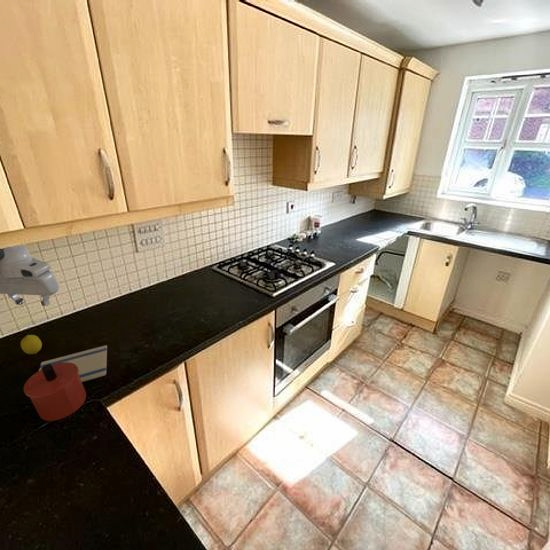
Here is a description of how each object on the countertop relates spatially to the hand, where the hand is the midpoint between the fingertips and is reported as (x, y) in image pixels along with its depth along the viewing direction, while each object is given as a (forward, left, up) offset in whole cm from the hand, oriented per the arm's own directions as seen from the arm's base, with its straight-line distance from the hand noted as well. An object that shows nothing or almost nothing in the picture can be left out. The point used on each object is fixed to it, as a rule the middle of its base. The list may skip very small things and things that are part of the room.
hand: (33, 304), depth 101 cm
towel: (+8, -16, -19) cm, 26 cm away
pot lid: (+7, -31, -9) cm, 33 cm away
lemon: (-5, -1, -19) cm, 20 cm away
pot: (+7, -31, -19) cm, 37 cm away
